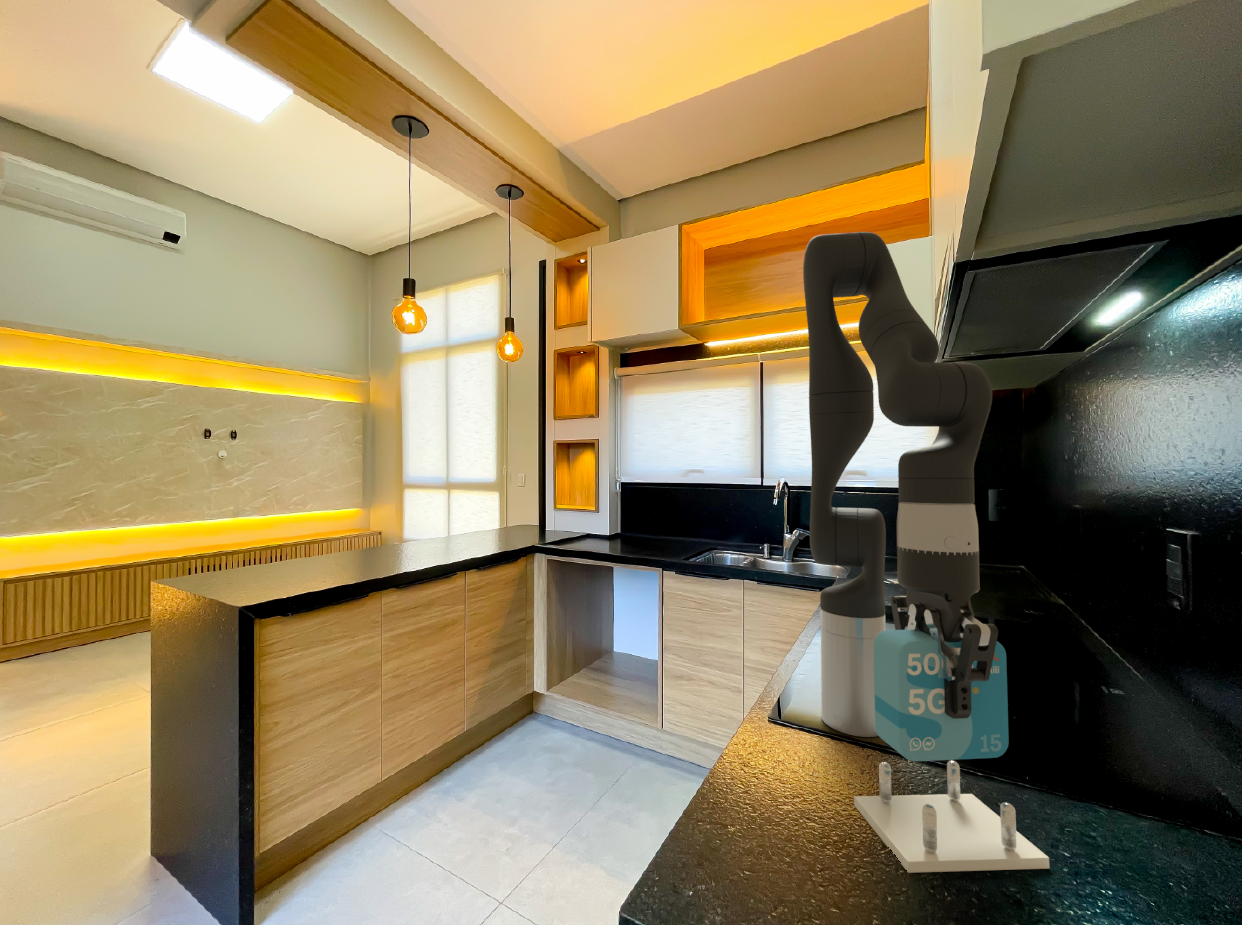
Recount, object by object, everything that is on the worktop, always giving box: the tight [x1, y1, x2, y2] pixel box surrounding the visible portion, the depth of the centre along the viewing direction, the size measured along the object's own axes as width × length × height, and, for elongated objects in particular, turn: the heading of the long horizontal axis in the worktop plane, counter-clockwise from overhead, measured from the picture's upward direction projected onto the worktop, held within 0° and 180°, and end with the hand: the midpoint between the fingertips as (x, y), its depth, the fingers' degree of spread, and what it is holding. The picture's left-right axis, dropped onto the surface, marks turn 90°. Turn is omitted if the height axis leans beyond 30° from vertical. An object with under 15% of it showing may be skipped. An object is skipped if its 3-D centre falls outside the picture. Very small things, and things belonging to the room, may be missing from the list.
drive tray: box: [853, 793, 1050, 874], centre depth 53 cm, size 10×14×1 cm
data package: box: [874, 629, 1010, 762], centre depth 53 cm, size 12×4×12 cm, turn 95°
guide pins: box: [878, 760, 1017, 853], centre depth 53 cm, size 9×9×4 cm
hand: (939, 704), depth 53 cm, fingers closed on data package, 4 cm apart
